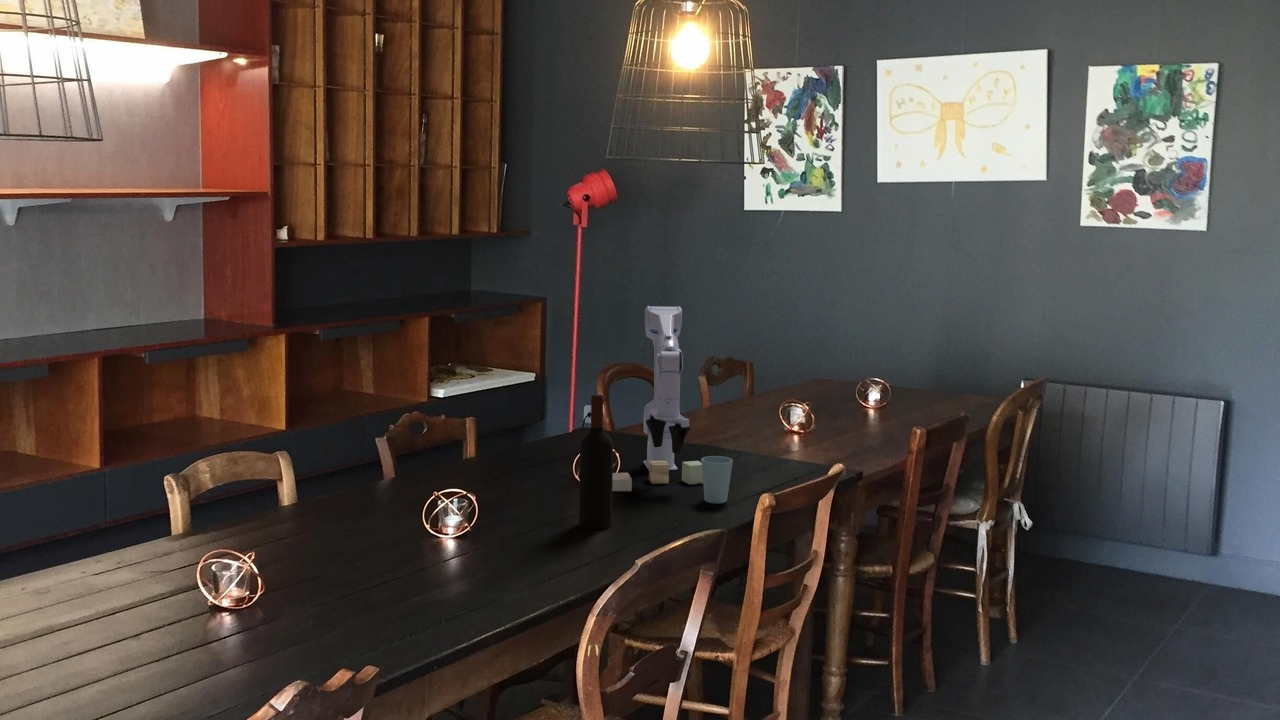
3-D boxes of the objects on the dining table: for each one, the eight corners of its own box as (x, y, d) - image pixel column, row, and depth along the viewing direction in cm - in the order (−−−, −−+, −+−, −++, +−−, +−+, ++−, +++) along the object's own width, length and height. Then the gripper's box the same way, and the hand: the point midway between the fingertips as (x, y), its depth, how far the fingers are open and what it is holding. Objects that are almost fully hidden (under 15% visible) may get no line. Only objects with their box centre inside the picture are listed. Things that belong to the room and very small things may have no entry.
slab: (600, 484, 317) (601, 473, 317) (627, 484, 318) (628, 472, 318) (604, 491, 310) (604, 479, 310) (631, 490, 311) (631, 479, 311)
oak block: (648, 479, 324) (649, 460, 323) (665, 479, 324) (666, 460, 324) (651, 483, 319) (651, 465, 318) (668, 483, 320) (669, 464, 319)
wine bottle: (572, 526, 279) (574, 396, 274) (589, 518, 286) (591, 391, 281) (601, 531, 275) (603, 399, 271) (617, 523, 282) (620, 394, 278)
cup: (737, 502, 303) (739, 460, 301) (713, 506, 299) (714, 464, 297) (718, 495, 309) (719, 454, 307) (694, 499, 305) (695, 458, 303)
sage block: (681, 480, 323) (682, 462, 322) (697, 479, 325) (697, 460, 324) (689, 484, 319) (689, 465, 318) (704, 483, 321) (705, 464, 320)
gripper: (638, 394, 317) (637, 446, 319) (674, 404, 306) (673, 457, 308) (659, 391, 321) (658, 442, 323) (696, 401, 310) (694, 453, 312)
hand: (667, 449), depth 316 cm, fingers open, 7 cm apart
